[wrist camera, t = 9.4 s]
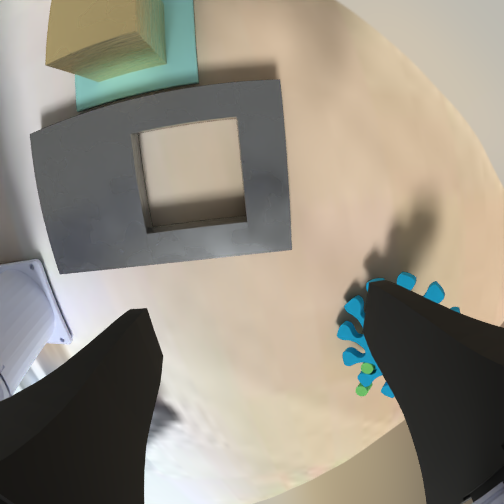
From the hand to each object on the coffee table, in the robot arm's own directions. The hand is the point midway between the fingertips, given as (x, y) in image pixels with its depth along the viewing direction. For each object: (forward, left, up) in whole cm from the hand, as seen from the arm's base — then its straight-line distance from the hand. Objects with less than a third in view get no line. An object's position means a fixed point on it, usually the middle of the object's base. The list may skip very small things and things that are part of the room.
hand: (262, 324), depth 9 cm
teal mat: (-6, +13, -10) cm, 18 cm away
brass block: (-6, +13, -10) cm, 17 cm away
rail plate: (-5, +4, -10) cm, 12 cm away
